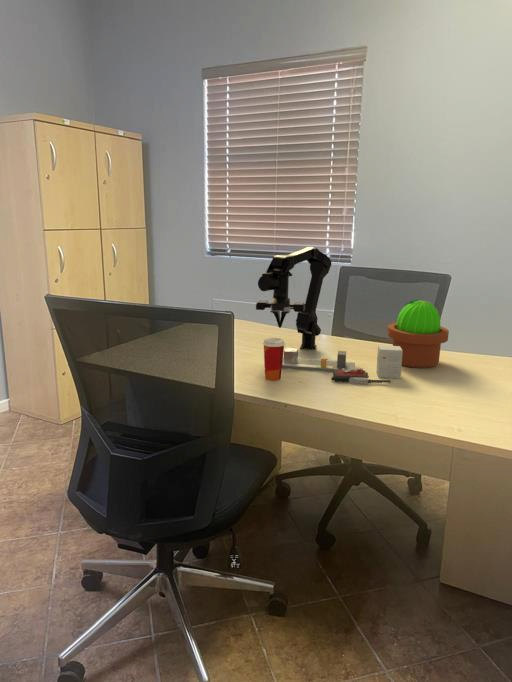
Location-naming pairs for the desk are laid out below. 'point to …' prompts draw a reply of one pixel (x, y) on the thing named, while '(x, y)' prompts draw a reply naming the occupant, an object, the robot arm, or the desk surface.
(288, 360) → the grey faceted block
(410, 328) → the potted cactus
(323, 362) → the block
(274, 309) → the robot arm
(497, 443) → the desk surface
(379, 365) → the small box
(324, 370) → the gauge board
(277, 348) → the paper cup
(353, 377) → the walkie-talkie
